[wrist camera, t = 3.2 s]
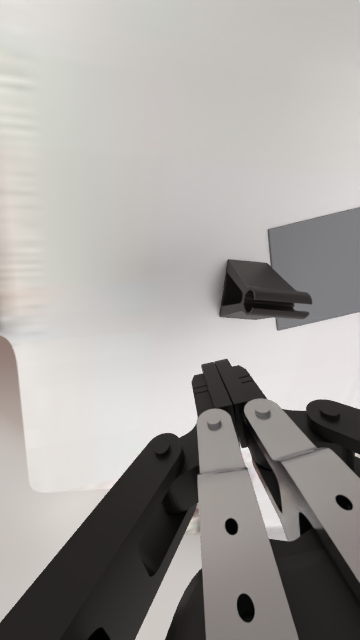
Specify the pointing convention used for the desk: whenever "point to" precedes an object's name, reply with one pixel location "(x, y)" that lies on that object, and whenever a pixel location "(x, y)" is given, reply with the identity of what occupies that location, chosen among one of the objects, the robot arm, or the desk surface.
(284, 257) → the mat
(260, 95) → the desk surface
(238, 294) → the phone stand
